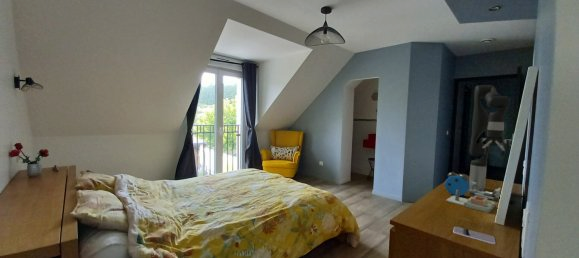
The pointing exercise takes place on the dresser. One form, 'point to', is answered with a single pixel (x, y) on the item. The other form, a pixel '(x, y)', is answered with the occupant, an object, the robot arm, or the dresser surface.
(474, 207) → the tray
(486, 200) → the ring
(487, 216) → the dresser surface
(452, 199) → the stake board
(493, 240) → the mobile phone
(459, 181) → the alarm clock
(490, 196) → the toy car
